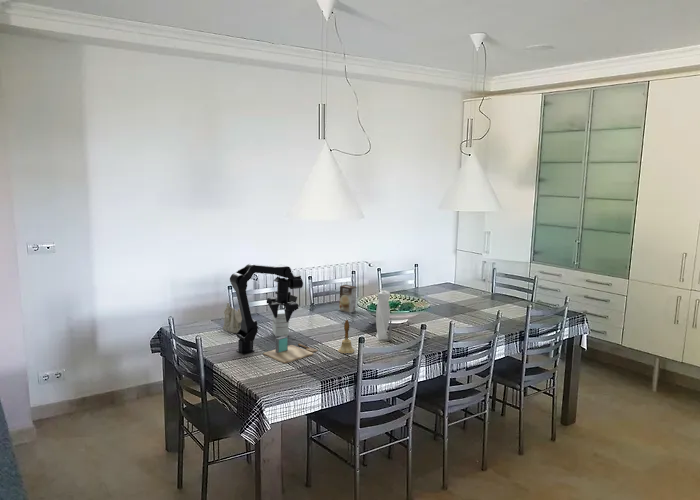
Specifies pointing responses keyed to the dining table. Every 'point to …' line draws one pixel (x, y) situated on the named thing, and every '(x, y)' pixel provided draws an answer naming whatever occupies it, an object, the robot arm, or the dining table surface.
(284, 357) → the board
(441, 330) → the dining table surface
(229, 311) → the beige sack
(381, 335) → the white bottle
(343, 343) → the hand bell
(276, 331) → the supplement box
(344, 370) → the dining table surface
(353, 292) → the coffee box
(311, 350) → the turner
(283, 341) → the block
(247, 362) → the dining table surface
